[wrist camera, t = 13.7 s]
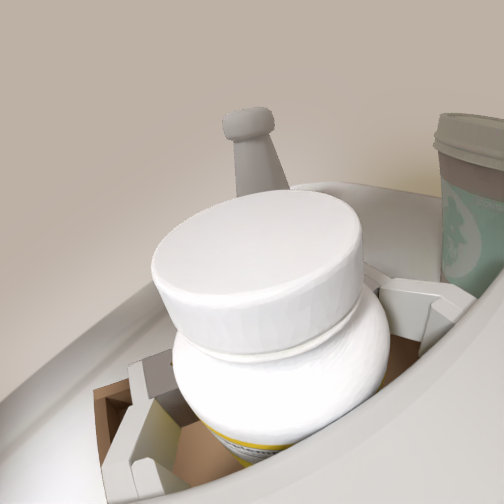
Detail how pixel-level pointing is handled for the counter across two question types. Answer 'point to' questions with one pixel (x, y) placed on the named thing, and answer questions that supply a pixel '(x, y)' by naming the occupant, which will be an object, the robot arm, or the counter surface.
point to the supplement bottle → (272, 318)
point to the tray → (198, 435)
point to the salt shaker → (254, 151)
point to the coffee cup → (471, 199)
